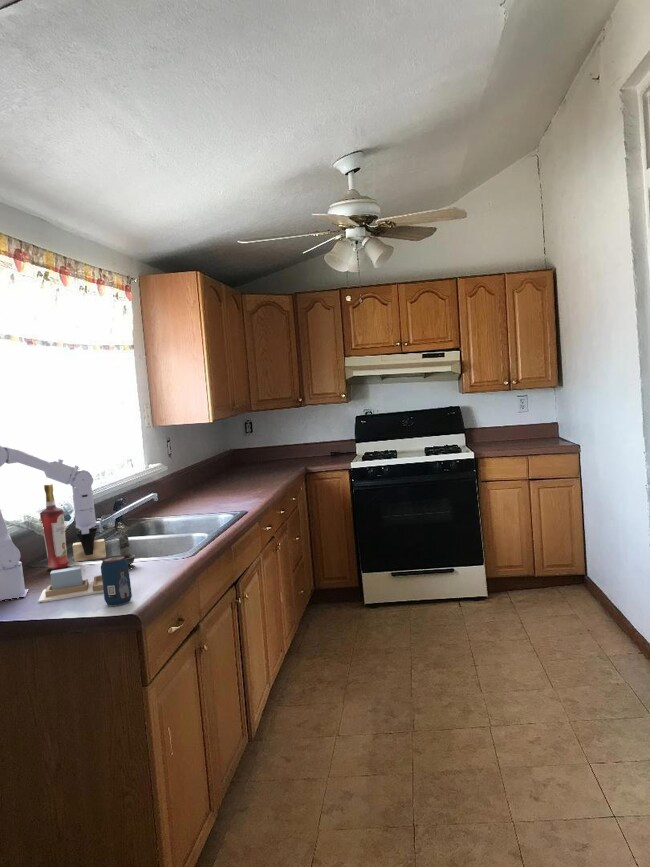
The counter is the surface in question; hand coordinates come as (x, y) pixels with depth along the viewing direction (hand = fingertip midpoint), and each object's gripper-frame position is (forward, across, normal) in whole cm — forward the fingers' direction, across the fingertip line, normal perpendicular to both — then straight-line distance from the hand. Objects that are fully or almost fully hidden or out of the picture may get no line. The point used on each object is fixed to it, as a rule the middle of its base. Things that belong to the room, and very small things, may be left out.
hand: (89, 553), depth 216 cm
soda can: (+8, -32, -8) cm, 34 cm away
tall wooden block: (+2, 0, 0) cm, 2 cm away
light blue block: (+7, -12, +6) cm, 15 cm away
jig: (+8, -12, +3) cm, 15 cm away
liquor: (+8, +24, +12) cm, 28 cm away
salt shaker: (+8, +8, -10) cm, 15 cm away
